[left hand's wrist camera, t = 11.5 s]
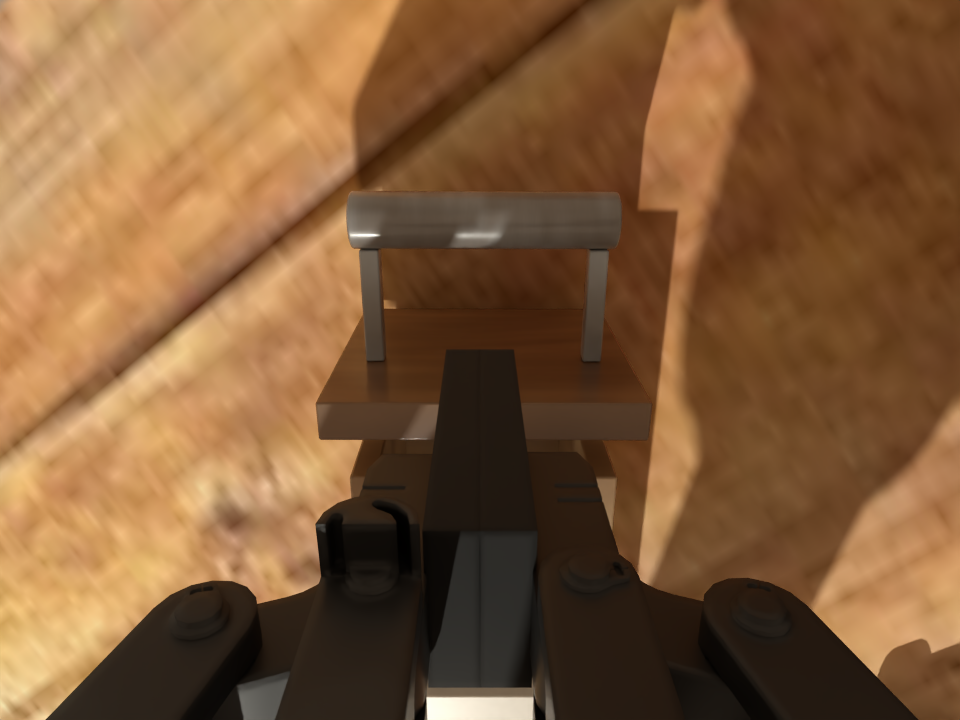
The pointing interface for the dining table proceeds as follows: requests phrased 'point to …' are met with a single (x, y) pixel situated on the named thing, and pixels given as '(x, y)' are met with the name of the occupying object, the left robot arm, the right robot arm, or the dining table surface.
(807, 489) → the dining table surface
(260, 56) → the dining table surface
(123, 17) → the dining table surface
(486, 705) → the cabinet
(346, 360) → the drawer
